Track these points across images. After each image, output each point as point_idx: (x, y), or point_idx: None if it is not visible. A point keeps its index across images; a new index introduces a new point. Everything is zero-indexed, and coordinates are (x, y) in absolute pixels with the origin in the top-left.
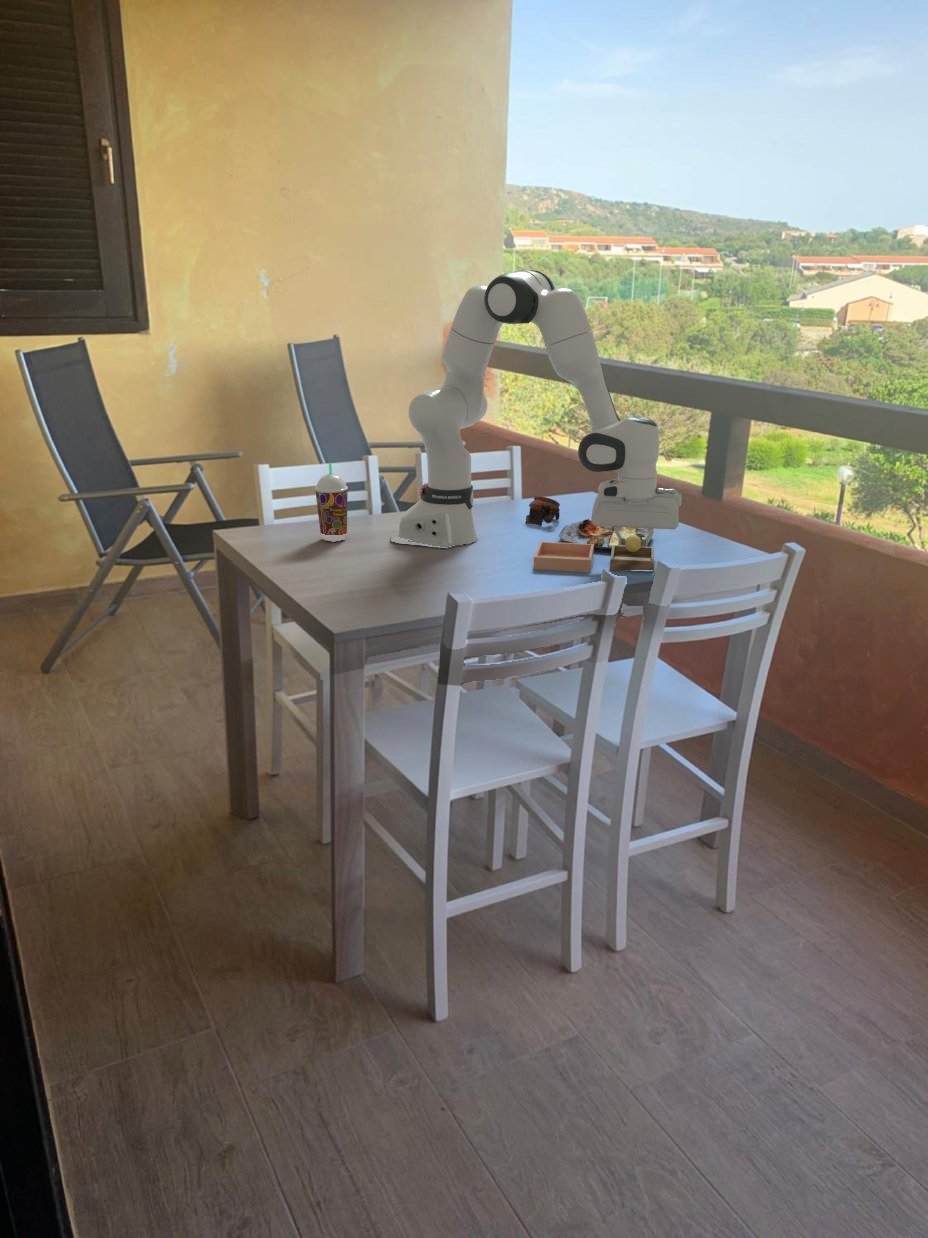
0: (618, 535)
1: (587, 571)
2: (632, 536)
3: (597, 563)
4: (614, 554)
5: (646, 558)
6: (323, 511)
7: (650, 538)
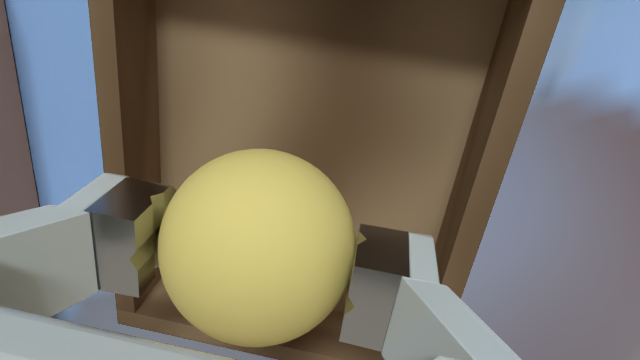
0: (41, 309)
1: None
2: (214, 332)
3: (64, 141)
4: None
5: (441, 84)
6: None
7: None
